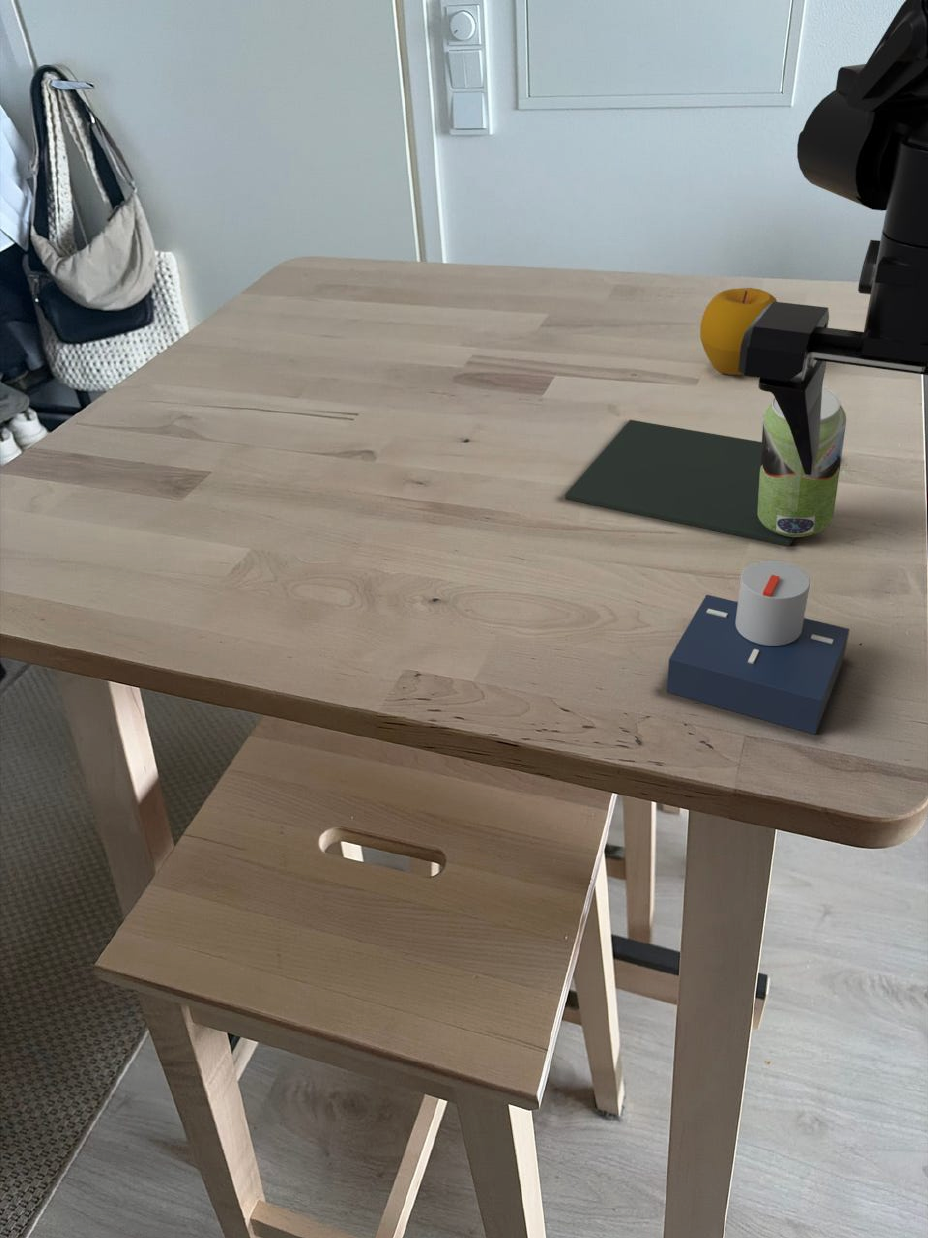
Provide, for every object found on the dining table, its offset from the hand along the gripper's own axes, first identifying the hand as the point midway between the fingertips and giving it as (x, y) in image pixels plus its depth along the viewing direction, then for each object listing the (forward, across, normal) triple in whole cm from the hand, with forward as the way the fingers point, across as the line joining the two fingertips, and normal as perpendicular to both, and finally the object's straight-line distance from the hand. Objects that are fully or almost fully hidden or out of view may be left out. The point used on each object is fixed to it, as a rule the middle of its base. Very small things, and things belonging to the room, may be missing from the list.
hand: (883, 485), depth 63 cm
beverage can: (+13, +8, -13) cm, 20 cm away
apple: (+14, +21, -43) cm, 50 cm away
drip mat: (+13, +17, -19) cm, 29 cm away
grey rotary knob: (+10, +5, +4) cm, 12 cm away
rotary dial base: (+13, +5, +5) cm, 15 cm away
